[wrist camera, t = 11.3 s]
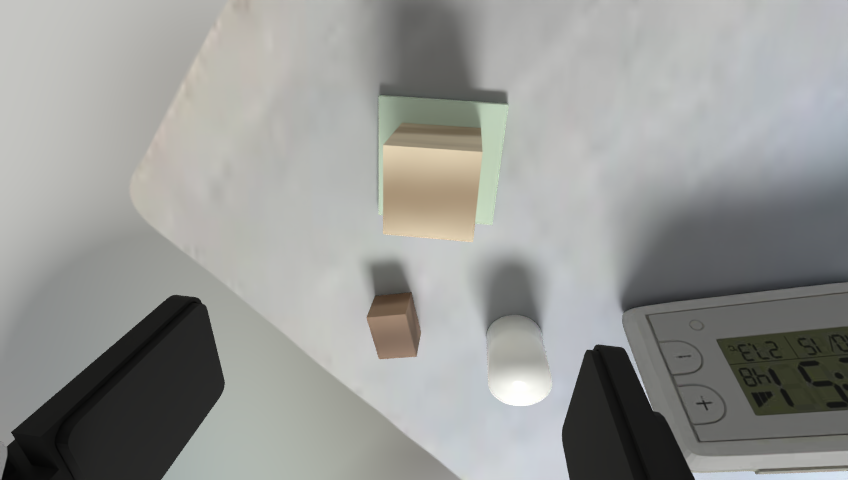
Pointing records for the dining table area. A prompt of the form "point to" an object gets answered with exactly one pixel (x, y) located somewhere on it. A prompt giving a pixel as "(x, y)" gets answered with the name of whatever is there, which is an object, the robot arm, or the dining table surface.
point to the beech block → (431, 181)
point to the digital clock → (750, 377)
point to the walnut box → (394, 326)
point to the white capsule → (517, 361)
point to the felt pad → (451, 114)
